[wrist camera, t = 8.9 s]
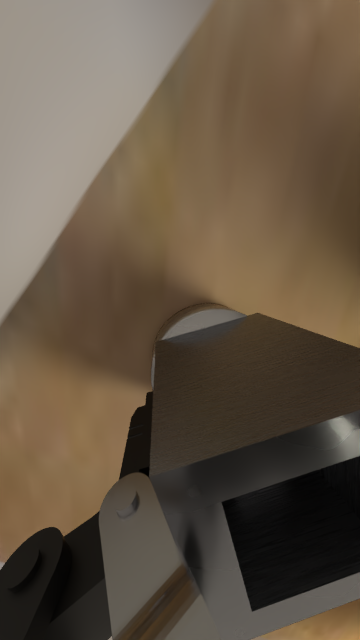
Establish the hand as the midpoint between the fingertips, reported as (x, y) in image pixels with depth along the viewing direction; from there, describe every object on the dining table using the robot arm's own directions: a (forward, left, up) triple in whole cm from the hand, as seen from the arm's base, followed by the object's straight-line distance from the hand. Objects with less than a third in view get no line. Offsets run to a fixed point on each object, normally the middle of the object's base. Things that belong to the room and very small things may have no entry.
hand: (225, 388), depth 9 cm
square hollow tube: (0, 0, -1) cm, 1 cm away
